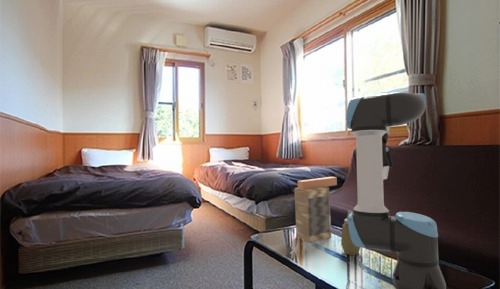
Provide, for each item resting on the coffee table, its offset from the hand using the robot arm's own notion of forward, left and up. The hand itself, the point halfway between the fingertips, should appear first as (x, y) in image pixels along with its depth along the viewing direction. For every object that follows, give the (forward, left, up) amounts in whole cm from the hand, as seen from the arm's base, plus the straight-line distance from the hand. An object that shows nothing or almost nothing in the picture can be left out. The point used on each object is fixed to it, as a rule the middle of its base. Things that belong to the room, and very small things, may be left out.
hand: (373, 172), depth 133 cm
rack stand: (-10, +27, -33) cm, 44 cm away
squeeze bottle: (-16, +3, -33) cm, 37 cm away
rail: (-6, +26, -8) cm, 28 cm away
